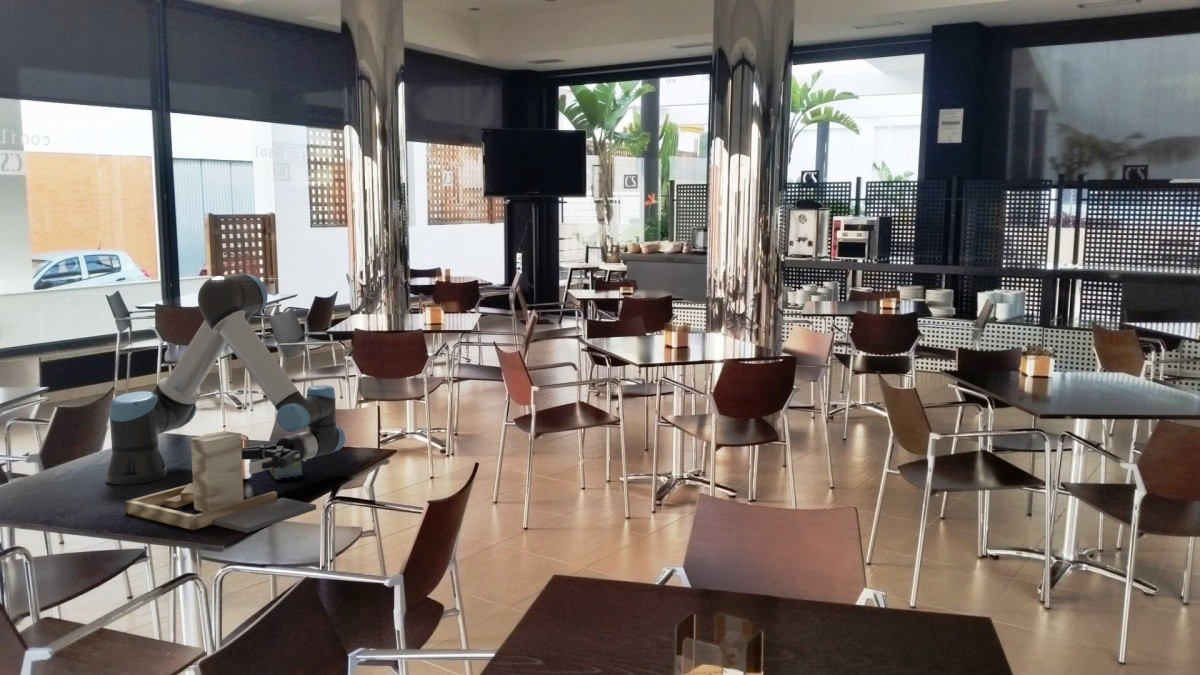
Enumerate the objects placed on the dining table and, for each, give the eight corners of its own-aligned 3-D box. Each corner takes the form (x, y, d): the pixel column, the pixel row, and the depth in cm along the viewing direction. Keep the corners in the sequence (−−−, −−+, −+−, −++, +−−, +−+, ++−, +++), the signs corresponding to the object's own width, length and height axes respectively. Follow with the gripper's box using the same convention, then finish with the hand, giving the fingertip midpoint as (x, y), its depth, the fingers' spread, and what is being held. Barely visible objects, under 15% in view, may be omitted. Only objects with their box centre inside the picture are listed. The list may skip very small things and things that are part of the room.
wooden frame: (125, 513, 232) (125, 501, 231) (210, 489, 253) (210, 478, 252) (193, 530, 219) (193, 517, 219) (277, 503, 240) (276, 492, 240)
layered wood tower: (194, 509, 235) (190, 438, 233) (227, 499, 244) (224, 431, 241) (210, 513, 232) (206, 441, 230) (243, 503, 241) (240, 433, 238)
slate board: (212, 524, 223) (212, 519, 223) (282, 502, 241) (282, 497, 241) (247, 532, 217) (247, 527, 217) (316, 509, 235) (316, 504, 235)
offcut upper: (180, 500, 236) (180, 493, 236) (189, 490, 245) (189, 483, 245) (193, 500, 237) (193, 492, 237) (201, 490, 246) (201, 482, 246)
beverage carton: (273, 480, 262) (272, 457, 261) (263, 465, 279) (262, 443, 278) (302, 477, 266) (302, 454, 265) (291, 462, 283) (290, 440, 282)
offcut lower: (165, 508, 237) (164, 500, 237) (197, 496, 248) (197, 488, 247) (176, 510, 236) (175, 501, 236) (208, 498, 246) (208, 490, 246)
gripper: (330, 467, 252) (266, 486, 234) (264, 455, 264) (199, 472, 246) (329, 439, 251) (265, 456, 233) (263, 429, 263) (198, 444, 245)
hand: (231, 465), depth 239 cm, fingers open, 13 cm apart
